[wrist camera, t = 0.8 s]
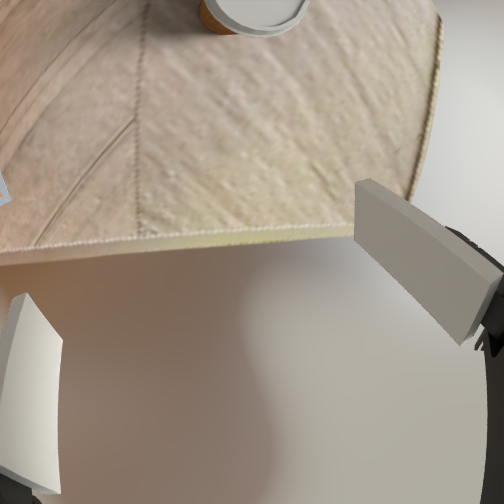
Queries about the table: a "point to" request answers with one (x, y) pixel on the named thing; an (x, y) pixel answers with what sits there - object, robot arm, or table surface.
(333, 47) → the table surface
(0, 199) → the letter
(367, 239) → the robot arm
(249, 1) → the disposable coffee cup
